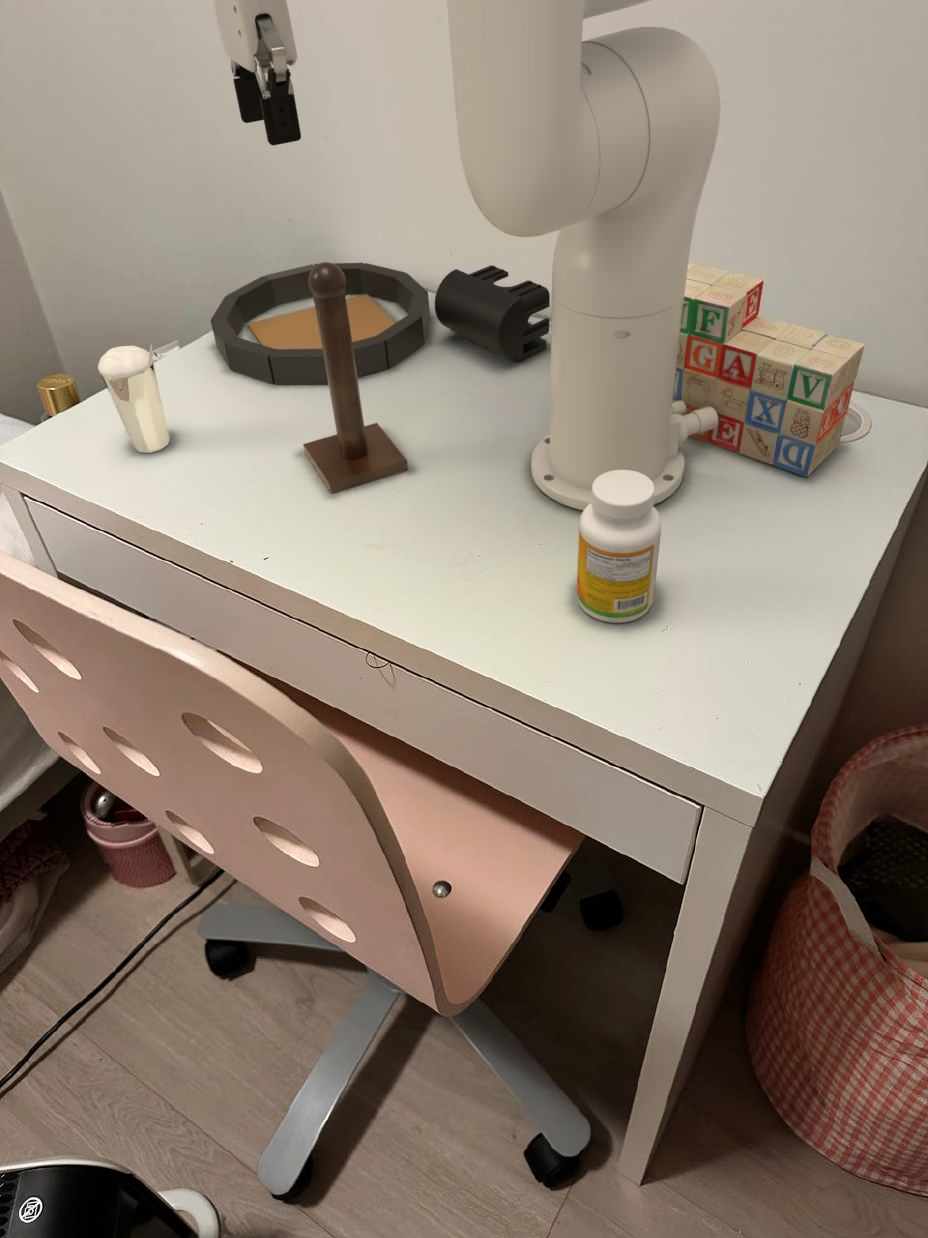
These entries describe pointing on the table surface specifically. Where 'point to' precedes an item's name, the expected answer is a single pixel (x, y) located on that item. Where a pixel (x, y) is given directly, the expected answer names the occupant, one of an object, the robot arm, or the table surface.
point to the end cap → (494, 311)
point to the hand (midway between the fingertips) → (270, 130)
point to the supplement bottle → (618, 547)
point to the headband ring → (310, 362)
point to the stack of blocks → (761, 373)
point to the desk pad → (304, 328)
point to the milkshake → (136, 395)
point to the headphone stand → (345, 397)
